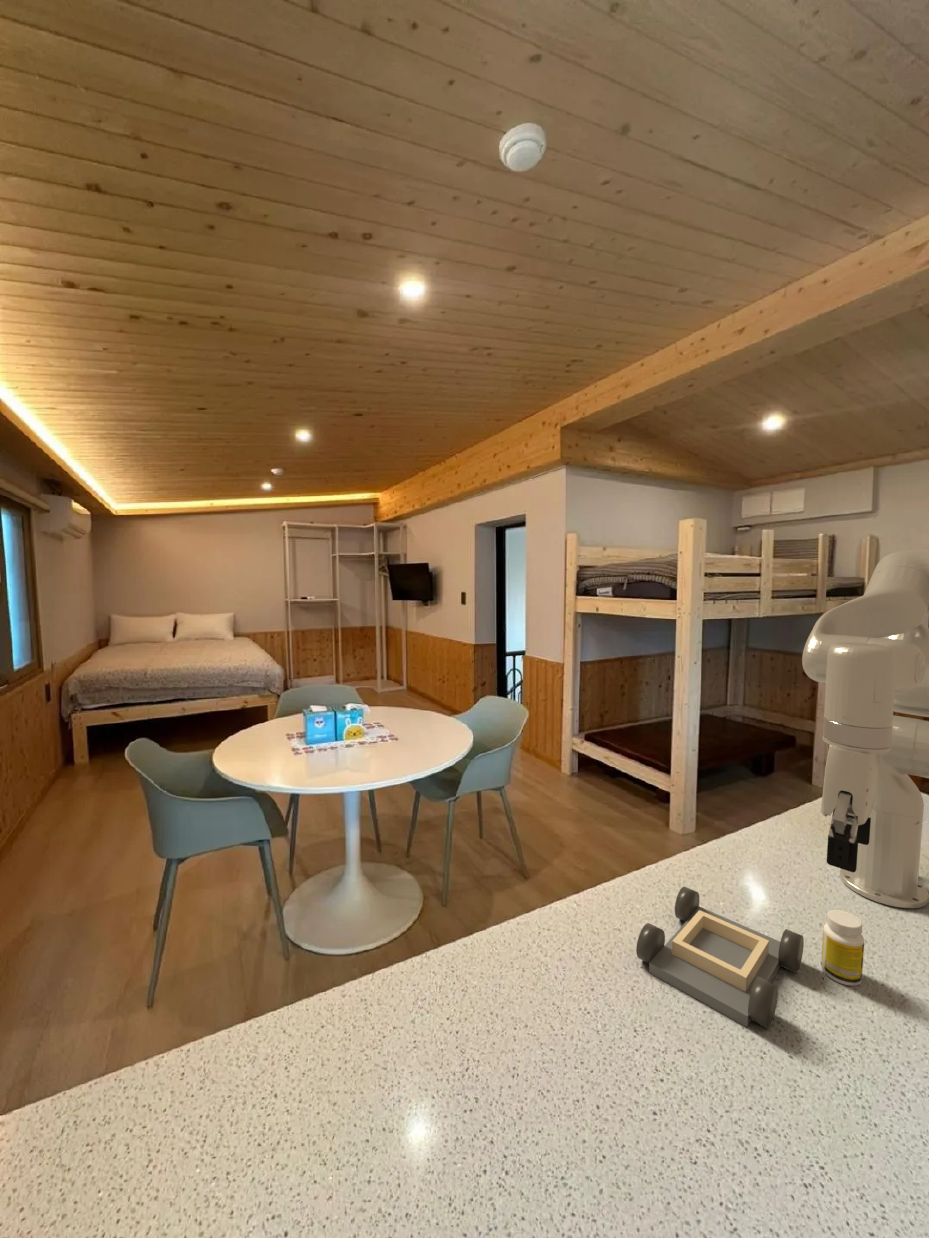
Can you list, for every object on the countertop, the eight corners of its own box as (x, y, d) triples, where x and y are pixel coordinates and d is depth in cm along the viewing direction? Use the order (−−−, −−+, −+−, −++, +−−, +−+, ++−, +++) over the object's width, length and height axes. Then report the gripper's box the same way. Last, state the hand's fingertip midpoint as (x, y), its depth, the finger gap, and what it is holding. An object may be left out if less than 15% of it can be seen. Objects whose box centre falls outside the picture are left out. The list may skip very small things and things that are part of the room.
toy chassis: (686, 909, 90) (687, 881, 90) (802, 961, 78) (804, 929, 78) (635, 965, 77) (636, 932, 77) (764, 1037, 65) (766, 999, 65)
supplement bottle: (868, 989, 73) (872, 931, 72) (830, 984, 74) (834, 927, 73) (851, 964, 78) (854, 909, 77) (815, 959, 78) (818, 905, 78)
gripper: (836, 716, 81) (830, 823, 83) (808, 742, 69) (801, 867, 70) (899, 726, 76) (891, 841, 77) (881, 756, 64) (871, 891, 65)
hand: (848, 853), depth 74 cm, fingers open, 9 cm apart
